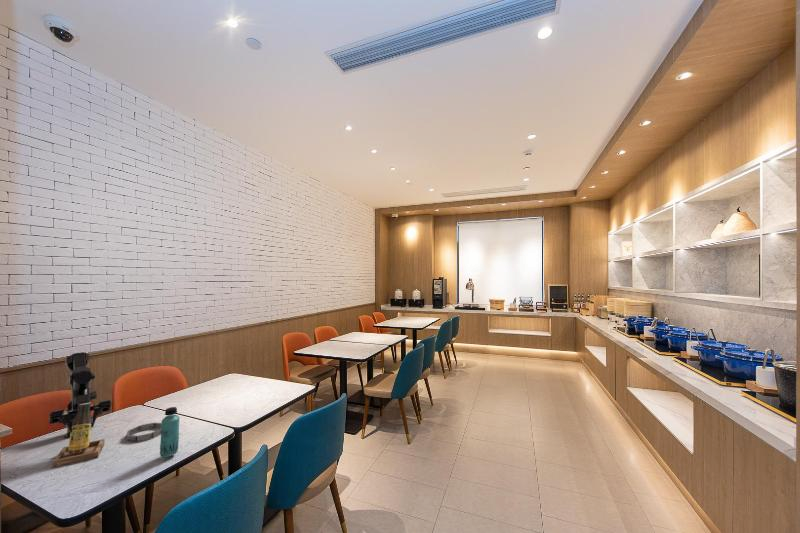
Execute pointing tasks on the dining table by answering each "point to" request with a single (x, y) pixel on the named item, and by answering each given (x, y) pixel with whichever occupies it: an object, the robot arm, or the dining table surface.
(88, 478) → the dining table surface
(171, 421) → the beverage bottle
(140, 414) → the dining table surface
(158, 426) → the metal collar
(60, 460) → the walnut tray
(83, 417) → the sauce bottle
